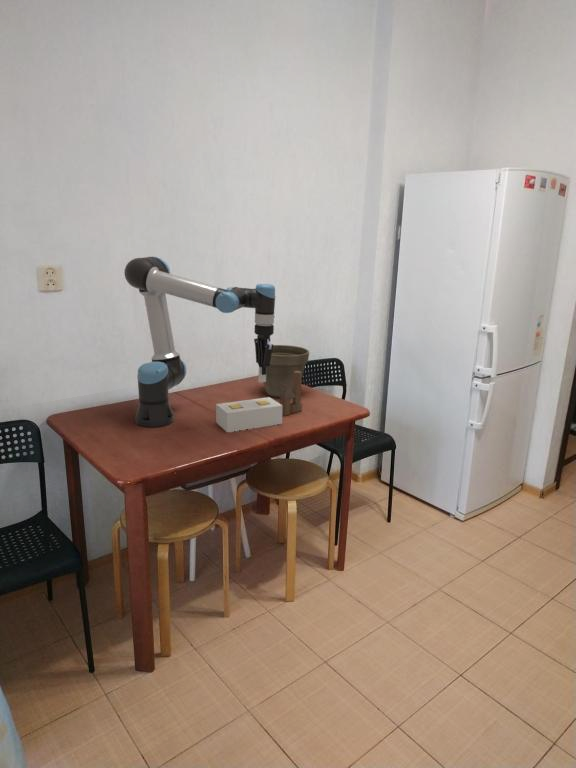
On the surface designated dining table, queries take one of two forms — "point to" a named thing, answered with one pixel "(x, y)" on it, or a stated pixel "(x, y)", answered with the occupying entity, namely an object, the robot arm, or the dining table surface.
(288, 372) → the plant pot
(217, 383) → the dining table surface
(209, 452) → the dining table surface
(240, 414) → the socket block
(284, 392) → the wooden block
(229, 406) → the peg near
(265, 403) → the peg far
